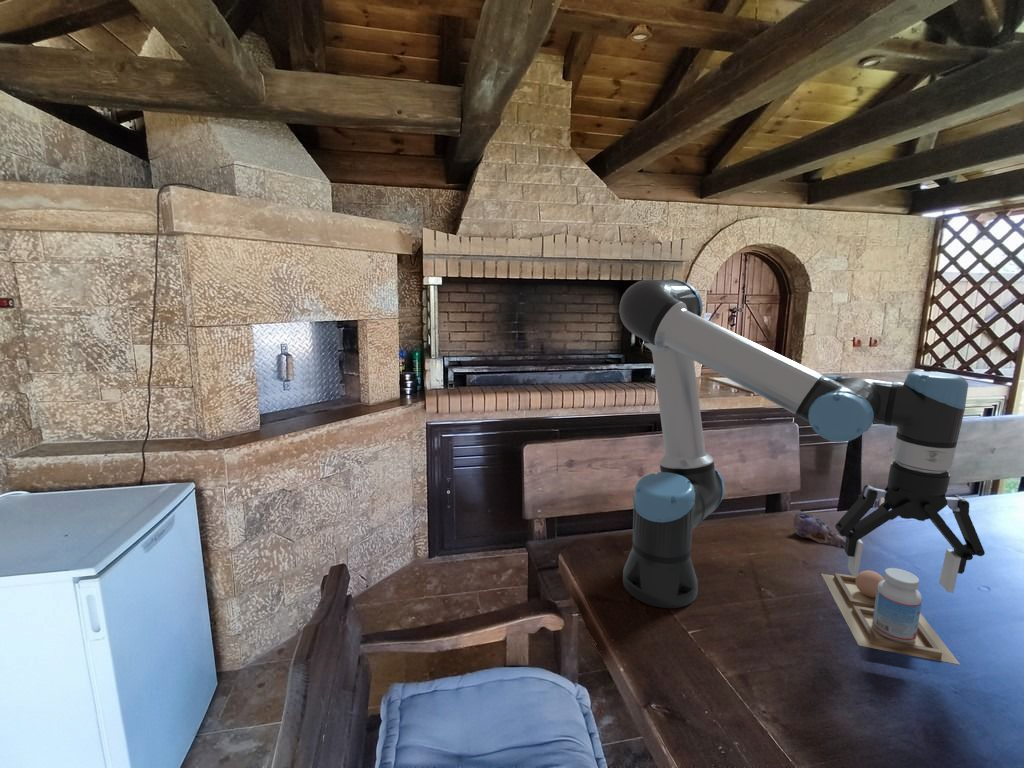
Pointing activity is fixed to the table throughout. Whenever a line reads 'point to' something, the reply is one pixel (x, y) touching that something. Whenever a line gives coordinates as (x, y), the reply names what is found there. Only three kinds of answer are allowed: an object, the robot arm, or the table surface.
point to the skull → (815, 530)
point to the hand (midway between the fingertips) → (897, 579)
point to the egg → (868, 582)
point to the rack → (860, 619)
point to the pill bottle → (897, 606)
